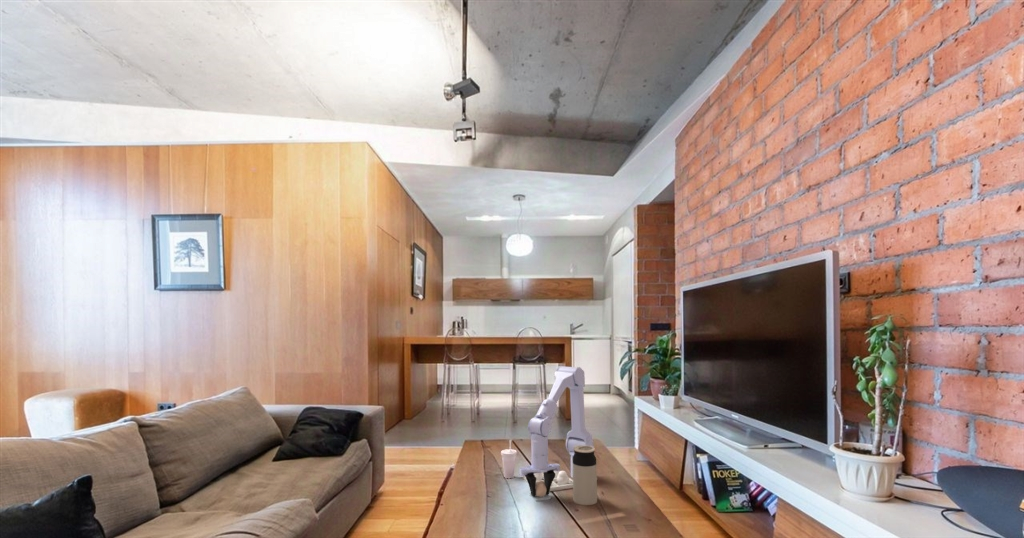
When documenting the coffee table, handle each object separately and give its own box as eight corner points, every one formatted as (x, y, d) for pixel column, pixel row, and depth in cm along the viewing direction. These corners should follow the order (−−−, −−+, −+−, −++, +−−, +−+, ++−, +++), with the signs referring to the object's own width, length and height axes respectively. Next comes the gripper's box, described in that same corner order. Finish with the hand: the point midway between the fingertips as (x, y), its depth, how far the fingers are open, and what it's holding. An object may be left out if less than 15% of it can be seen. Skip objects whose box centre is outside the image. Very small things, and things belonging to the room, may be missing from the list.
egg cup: (544, 495, 160) (544, 490, 160) (551, 502, 154) (551, 497, 154) (528, 498, 158) (528, 493, 158) (535, 504, 152) (535, 499, 152)
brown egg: (543, 493, 159) (543, 477, 160) (549, 498, 155) (548, 481, 155) (531, 495, 157) (531, 479, 158) (536, 500, 153) (536, 483, 154)
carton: (558, 476, 179) (558, 470, 179) (577, 489, 165) (577, 483, 165) (523, 481, 174) (523, 475, 174) (539, 495, 160) (539, 489, 160)
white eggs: (556, 476, 177) (556, 462, 177) (571, 487, 166) (571, 472, 167) (529, 480, 173) (529, 466, 173) (542, 491, 162) (541, 476, 162)
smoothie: (515, 480, 175) (515, 442, 176) (499, 479, 176) (499, 441, 177) (518, 474, 181) (518, 438, 182) (502, 473, 182) (502, 437, 184)
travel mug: (601, 503, 153) (600, 447, 155) (588, 510, 148) (586, 453, 149) (582, 496, 159) (581, 443, 161) (568, 503, 153) (567, 448, 155)
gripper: (524, 459, 151) (524, 502, 150) (563, 454, 156) (564, 495, 155) (516, 453, 158) (517, 494, 156) (554, 448, 163) (555, 488, 162)
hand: (540, 494), depth 156 cm, fingers closed on brown egg, 4 cm apart
